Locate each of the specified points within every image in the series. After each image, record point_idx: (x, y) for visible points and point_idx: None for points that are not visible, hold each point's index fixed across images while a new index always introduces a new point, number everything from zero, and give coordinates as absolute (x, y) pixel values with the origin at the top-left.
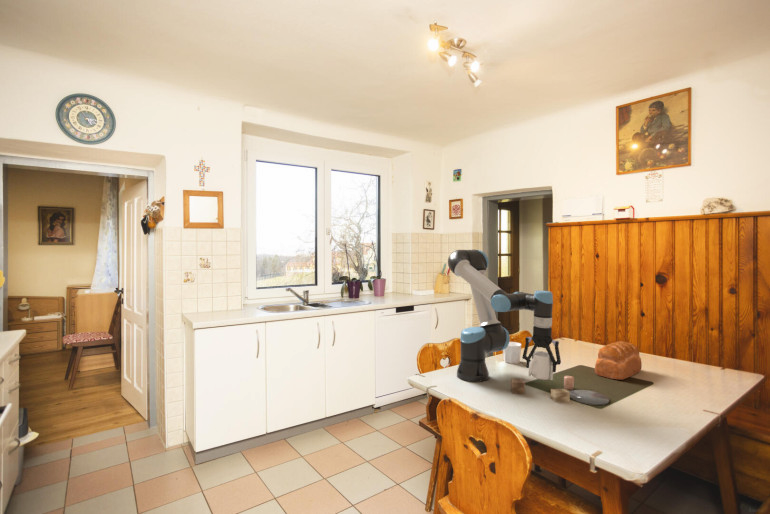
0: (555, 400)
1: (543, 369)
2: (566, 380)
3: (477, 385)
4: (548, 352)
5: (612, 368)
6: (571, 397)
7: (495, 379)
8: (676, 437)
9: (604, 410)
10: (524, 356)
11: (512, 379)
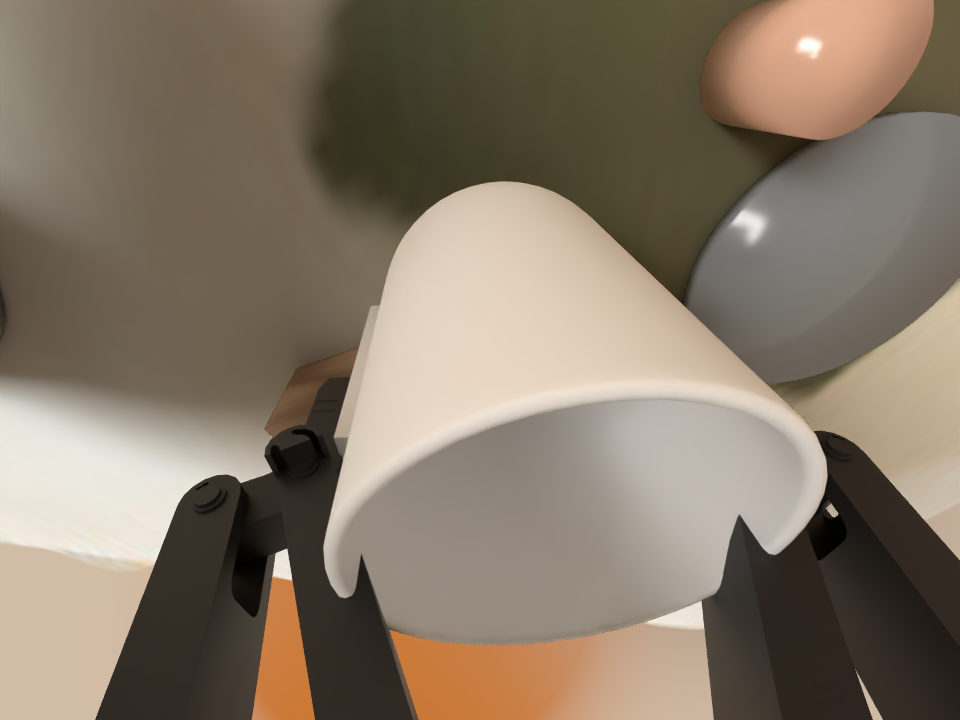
0: None
1: (547, 446)
2: (774, 129)
3: (74, 406)
4: (730, 717)
5: None
6: None
7: (14, 195)
8: (949, 497)
9: (817, 408)
10: (255, 578)
11: None
